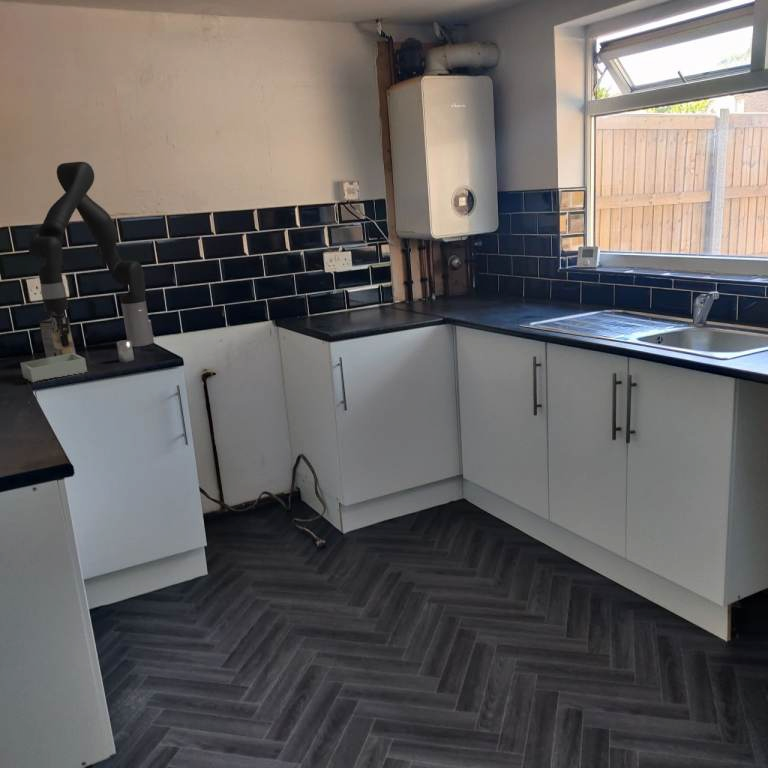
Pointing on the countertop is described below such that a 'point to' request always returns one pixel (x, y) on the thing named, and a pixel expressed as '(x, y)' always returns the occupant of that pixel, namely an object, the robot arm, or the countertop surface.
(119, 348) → the grey metal cylinder
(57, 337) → the beech cube
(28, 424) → the countertop surface
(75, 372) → the tote
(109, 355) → the countertop surface
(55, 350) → the coffee box
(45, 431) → the countertop surface
